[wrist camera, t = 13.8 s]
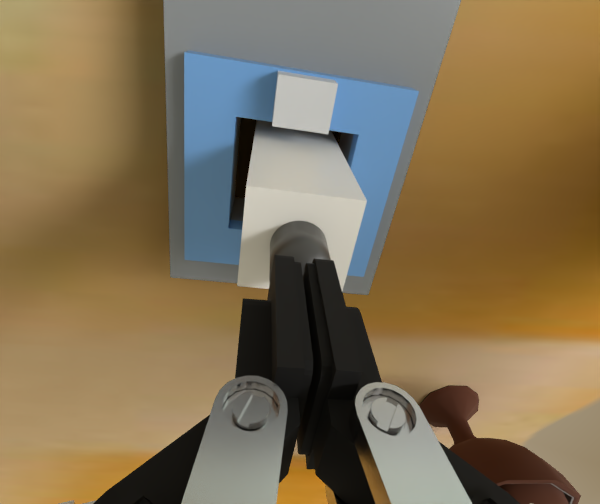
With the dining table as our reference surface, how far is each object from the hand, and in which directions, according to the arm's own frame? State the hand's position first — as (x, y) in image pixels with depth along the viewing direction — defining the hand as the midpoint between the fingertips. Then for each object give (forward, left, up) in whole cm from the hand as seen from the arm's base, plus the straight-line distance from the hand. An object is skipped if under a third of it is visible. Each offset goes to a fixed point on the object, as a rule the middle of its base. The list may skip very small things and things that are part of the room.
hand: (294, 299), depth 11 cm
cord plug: (0, 0, -13) cm, 13 cm away
